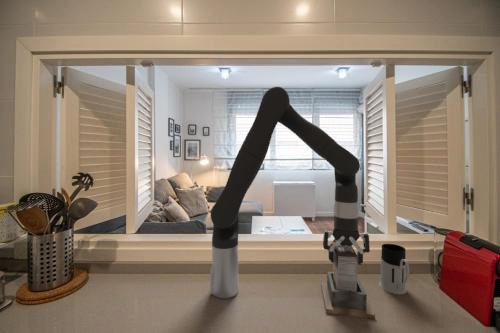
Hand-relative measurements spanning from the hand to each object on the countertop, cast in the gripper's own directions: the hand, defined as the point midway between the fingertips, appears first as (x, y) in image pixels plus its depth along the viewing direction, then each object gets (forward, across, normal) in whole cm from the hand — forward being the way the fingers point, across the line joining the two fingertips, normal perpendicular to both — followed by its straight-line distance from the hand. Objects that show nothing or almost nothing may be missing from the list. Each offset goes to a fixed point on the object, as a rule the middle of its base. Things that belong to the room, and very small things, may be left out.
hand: (345, 262), depth 79 cm
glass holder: (+13, +19, +9) cm, 25 cm away
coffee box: (+12, 0, 0) cm, 12 cm away
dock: (+13, 0, 0) cm, 13 cm away
